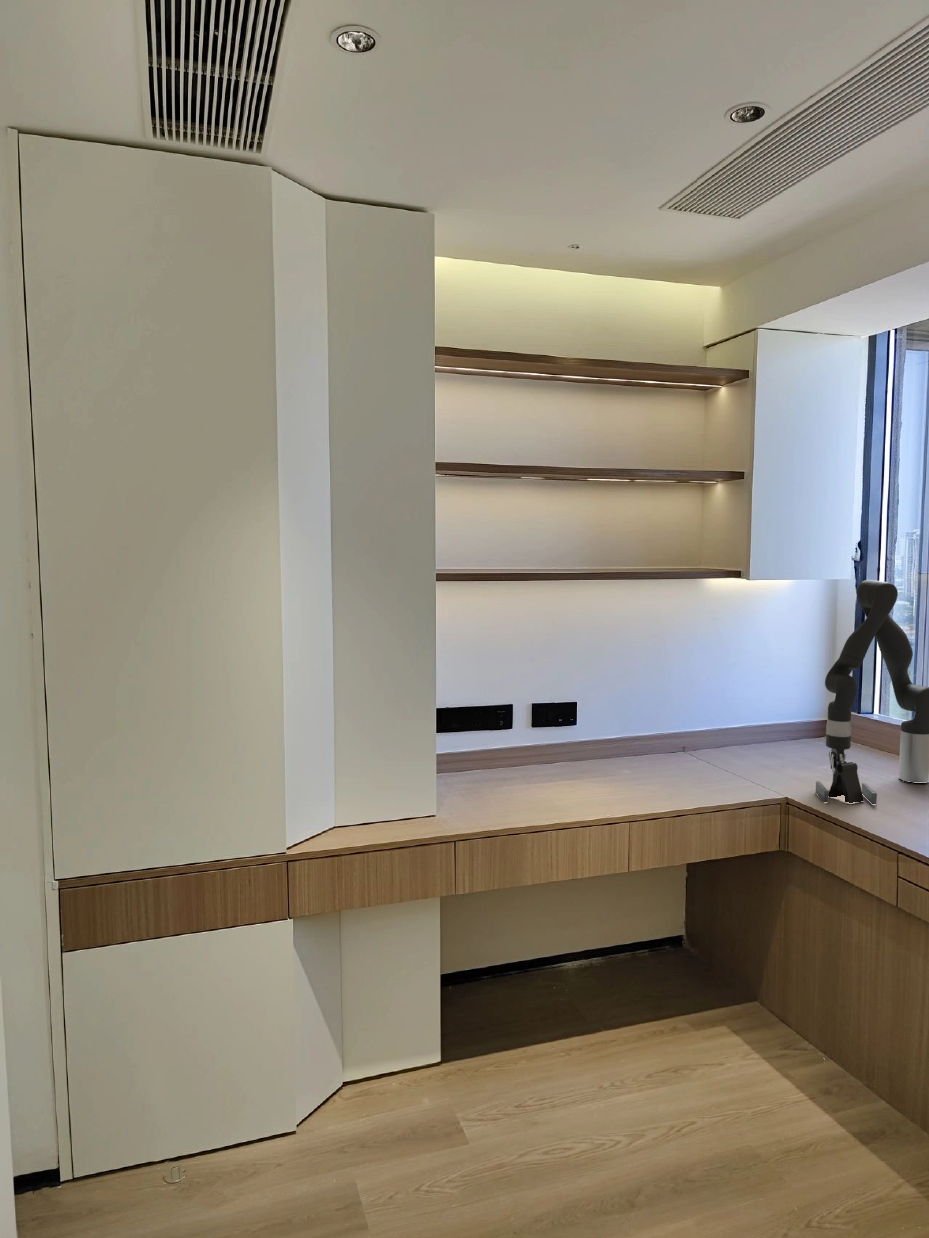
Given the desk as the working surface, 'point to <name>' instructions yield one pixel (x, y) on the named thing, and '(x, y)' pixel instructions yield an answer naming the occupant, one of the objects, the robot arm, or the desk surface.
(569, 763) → the desk surface
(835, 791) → the dark a-frame stand
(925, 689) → the robot arm
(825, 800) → the chute
